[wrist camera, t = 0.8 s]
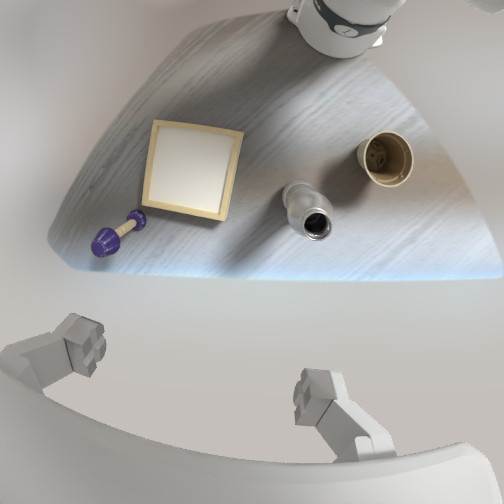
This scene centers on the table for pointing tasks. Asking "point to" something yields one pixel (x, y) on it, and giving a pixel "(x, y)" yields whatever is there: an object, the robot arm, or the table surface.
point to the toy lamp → (116, 235)
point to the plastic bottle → (307, 210)
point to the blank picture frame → (191, 168)
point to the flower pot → (386, 158)
